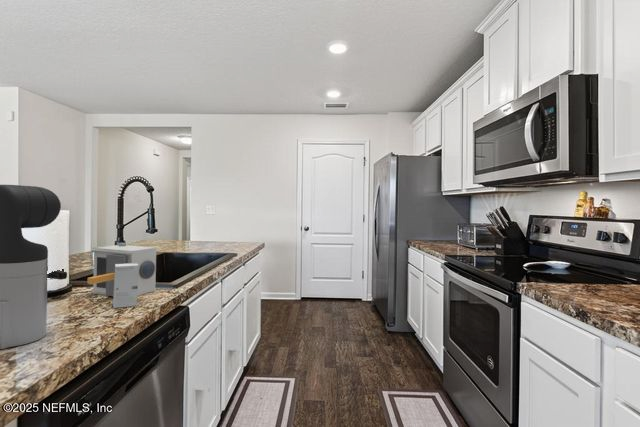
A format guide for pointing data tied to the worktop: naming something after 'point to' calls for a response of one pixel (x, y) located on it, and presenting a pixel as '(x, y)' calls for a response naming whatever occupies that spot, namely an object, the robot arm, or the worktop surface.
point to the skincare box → (125, 285)
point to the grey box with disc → (133, 255)
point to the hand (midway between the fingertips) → (64, 275)
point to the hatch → (108, 273)
